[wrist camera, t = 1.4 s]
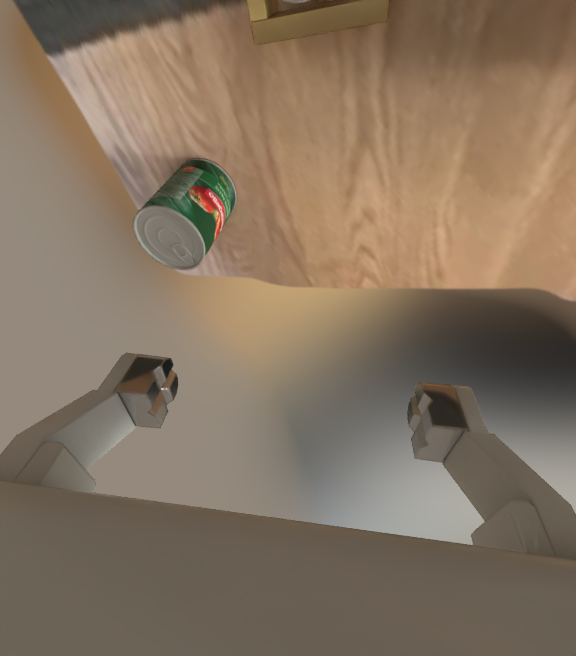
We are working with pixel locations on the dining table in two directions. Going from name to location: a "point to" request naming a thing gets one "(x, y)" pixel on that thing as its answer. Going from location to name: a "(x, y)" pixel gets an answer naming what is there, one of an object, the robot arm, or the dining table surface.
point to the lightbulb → (295, 1)
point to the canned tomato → (186, 214)
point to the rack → (312, 18)
